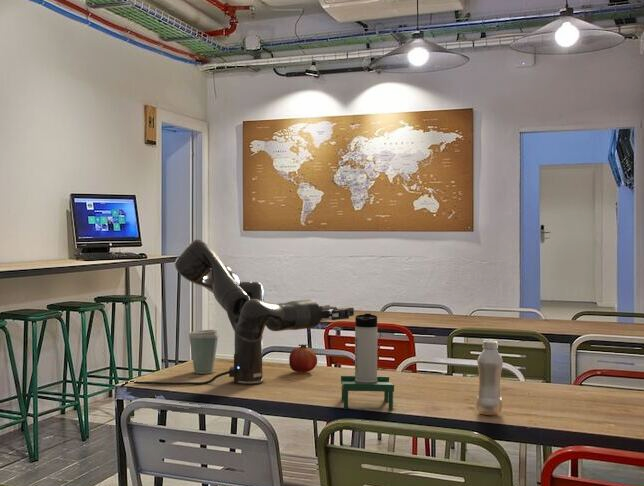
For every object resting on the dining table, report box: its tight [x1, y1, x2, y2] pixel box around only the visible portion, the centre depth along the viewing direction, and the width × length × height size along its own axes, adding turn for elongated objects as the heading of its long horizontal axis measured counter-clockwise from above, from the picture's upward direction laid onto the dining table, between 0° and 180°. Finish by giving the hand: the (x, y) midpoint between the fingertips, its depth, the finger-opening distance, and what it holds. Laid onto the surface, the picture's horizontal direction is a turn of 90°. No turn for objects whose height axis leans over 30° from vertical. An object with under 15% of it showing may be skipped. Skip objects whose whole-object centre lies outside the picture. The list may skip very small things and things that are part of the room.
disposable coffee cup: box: [188, 329, 219, 375], centre depth 263 cm, size 11×11×15 cm
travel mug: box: [354, 312, 378, 384], centre depth 212 cm, size 6×7×20 cm
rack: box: [340, 375, 395, 411], centre depth 213 cm, size 14×12×7 cm
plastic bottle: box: [475, 339, 504, 416], centre depth 201 cm, size 6×7×20 cm
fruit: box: [288, 343, 318, 374], centre depth 262 cm, size 11×10×10 cm
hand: (341, 310), depth 204 cm, fingers open, 8 cm apart
